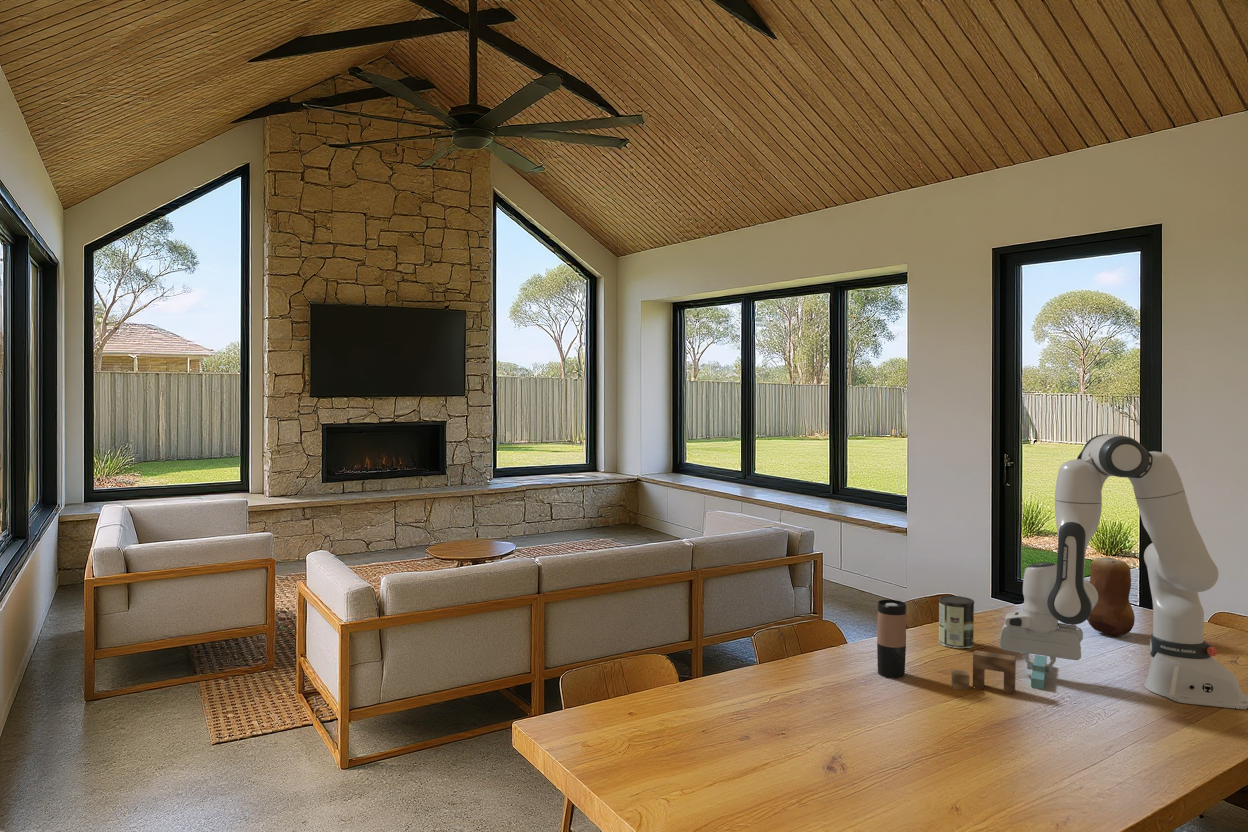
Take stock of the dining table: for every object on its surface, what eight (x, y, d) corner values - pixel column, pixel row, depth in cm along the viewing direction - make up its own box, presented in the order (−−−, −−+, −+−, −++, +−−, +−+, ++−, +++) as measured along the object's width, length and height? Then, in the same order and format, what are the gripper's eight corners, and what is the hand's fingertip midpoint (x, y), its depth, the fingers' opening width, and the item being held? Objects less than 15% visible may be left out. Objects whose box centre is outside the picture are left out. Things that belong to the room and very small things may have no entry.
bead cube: (966, 685, 217) (967, 670, 217) (969, 690, 213) (969, 675, 213) (950, 684, 218) (951, 669, 218) (953, 689, 214) (953, 674, 214)
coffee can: (965, 639, 258) (966, 595, 257) (979, 649, 247) (980, 603, 247) (933, 639, 258) (933, 595, 257) (945, 649, 248) (946, 603, 247)
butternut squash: (1134, 632, 265) (1135, 557, 264) (1134, 643, 254) (1135, 564, 253) (1085, 626, 273) (1086, 552, 272) (1083, 636, 261) (1085, 559, 260)
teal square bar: (1046, 666, 233) (1046, 656, 233) (1043, 691, 214) (1043, 680, 214) (1034, 665, 235) (1035, 654, 234) (1030, 689, 215) (1031, 678, 215)
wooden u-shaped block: (1015, 689, 214) (1015, 656, 213) (1014, 694, 210) (1014, 660, 210) (974, 683, 219) (974, 650, 218) (972, 687, 215) (973, 654, 215)
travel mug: (901, 669, 229) (902, 599, 228) (908, 679, 221) (909, 607, 221) (874, 668, 230) (874, 599, 229) (880, 678, 222) (880, 606, 221)
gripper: (1083, 623, 221) (1082, 673, 222) (1001, 613, 231) (1000, 660, 232) (1083, 629, 216) (1082, 680, 216) (999, 618, 226) (998, 667, 226)
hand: (1039, 670), depth 224 cm, fingers closed on teal square bar, 3 cm apart
